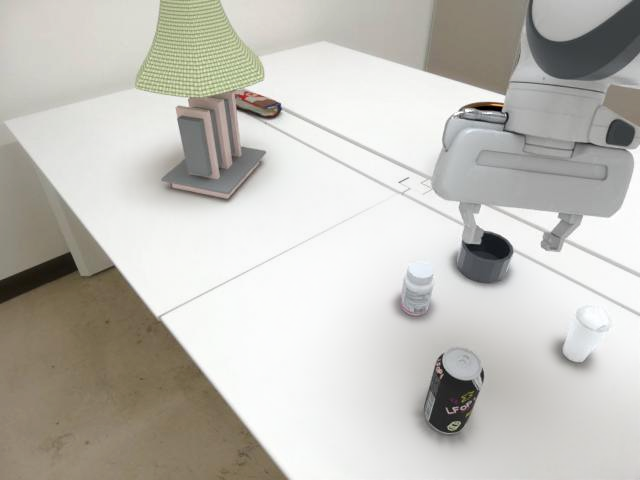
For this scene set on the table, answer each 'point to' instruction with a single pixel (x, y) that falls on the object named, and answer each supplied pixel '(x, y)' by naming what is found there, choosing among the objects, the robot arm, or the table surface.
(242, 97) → the pencil case
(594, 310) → the milkshake
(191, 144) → the desk lamp
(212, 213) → the table surface
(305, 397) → the table surface
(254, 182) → the table surface
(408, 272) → the pill bottle
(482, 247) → the can holder
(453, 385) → the beverage can
